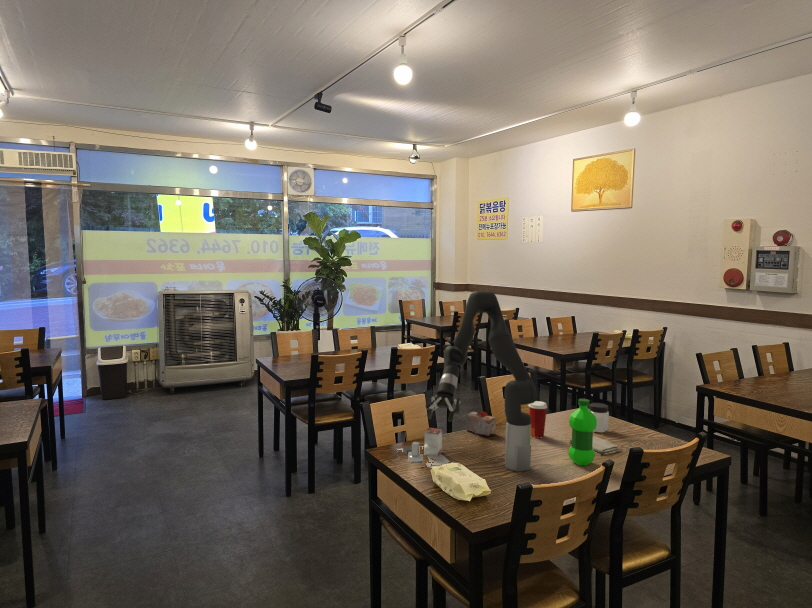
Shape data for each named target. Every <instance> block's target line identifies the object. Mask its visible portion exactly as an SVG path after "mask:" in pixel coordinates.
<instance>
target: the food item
mask: <svg viewBox="0 0 812 608" xmlns="http://www.w3.org/2000/svg"><path fill="white" fill-rule="evenodd" d="M497 419H498V417H495V416H491V415H488V412H486V411H481V410H480V411H478V412H476V411H471V412H468V413H467V414H466V431H468V430H469V431H468V432H471V431H472V433H474V434H475V435H482V436H486V437H489V436H493V435H496V427H497Z"/></svg>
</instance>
